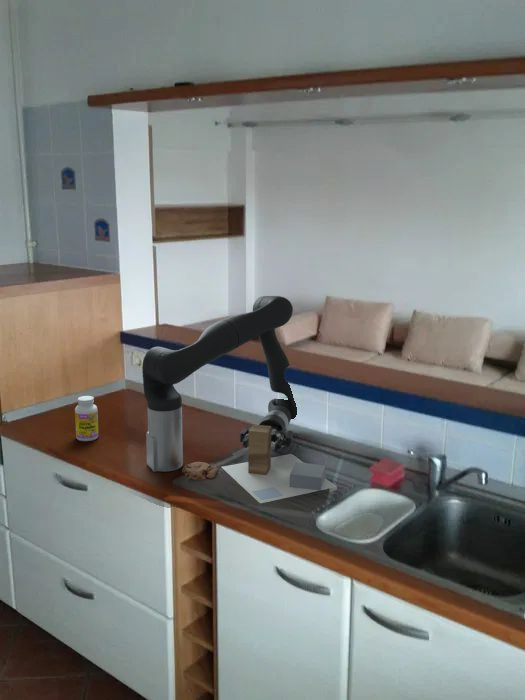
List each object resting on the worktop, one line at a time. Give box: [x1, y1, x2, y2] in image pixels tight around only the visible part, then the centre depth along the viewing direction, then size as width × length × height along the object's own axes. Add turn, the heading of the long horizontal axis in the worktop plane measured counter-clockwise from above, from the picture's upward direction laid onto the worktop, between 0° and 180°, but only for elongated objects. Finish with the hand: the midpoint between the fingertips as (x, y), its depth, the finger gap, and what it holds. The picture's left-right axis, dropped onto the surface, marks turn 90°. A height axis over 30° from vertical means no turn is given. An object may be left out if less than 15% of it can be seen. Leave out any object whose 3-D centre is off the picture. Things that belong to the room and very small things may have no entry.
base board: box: [221, 453, 338, 508], centre depth 178 cm, size 22×24×4 cm
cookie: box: [181, 461, 219, 481], centre depth 181 cm, size 10×11×3 cm
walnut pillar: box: [247, 424, 272, 475], centre depth 180 cm, size 5×5×12 cm
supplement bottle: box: [74, 395, 99, 442], centre depth 205 cm, size 7×7×13 cm
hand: (260, 446), depth 181 cm, fingers open, 8 cm apart
